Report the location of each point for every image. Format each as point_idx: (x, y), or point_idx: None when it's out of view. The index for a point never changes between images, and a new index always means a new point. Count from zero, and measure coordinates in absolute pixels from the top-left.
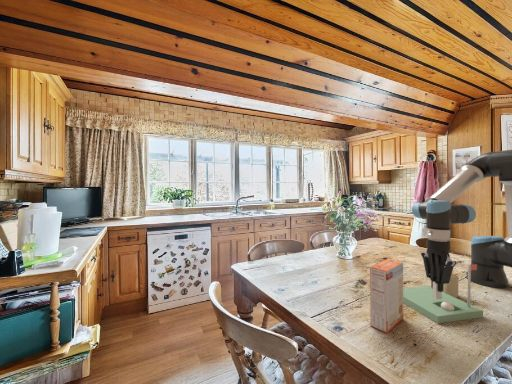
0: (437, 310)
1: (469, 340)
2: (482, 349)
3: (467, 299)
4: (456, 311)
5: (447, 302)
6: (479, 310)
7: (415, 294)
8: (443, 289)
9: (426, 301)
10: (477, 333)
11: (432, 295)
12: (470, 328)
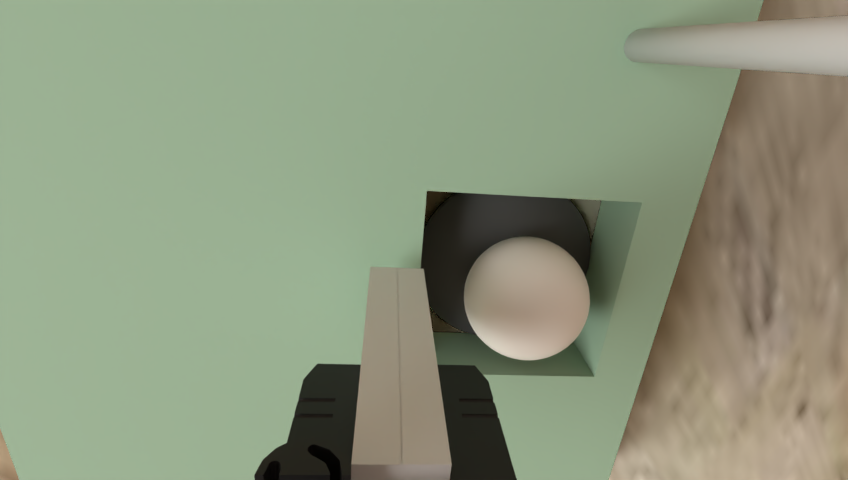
0: (539, 443)
1: (773, 440)
2: (844, 449)
3: (690, 61)
4: (626, 304)
5: (550, 339)
6: (752, 4)
7: (189, 374)
8: None
9: None
10: (778, 326)
11: (240, 196)
12: (725, 310)
